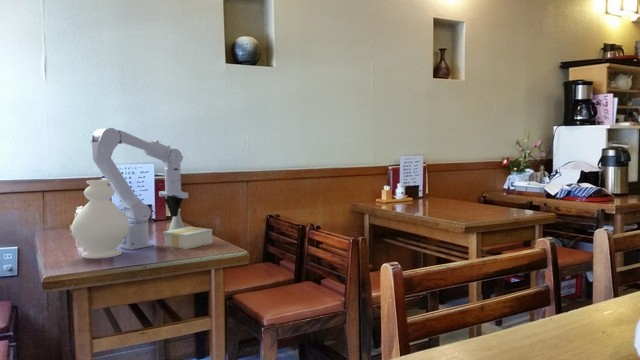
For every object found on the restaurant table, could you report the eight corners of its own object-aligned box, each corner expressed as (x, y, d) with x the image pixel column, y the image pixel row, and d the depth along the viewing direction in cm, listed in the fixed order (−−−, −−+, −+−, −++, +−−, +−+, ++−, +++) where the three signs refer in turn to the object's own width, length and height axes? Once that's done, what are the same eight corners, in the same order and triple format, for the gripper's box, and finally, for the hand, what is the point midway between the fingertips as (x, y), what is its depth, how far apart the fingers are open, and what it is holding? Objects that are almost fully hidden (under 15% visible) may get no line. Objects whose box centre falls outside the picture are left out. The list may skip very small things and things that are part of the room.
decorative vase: (113, 247, 188) (110, 177, 186) (140, 253, 177) (137, 179, 175) (63, 255, 174) (59, 181, 172) (89, 263, 163) (85, 183, 161)
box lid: (185, 236, 181) (185, 234, 181) (162, 233, 189) (162, 231, 188) (212, 231, 192) (212, 229, 192) (189, 228, 199) (189, 226, 199)
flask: (175, 235, 210) (174, 210, 209) (164, 233, 214) (163, 209, 214) (190, 232, 216) (189, 208, 215) (179, 231, 220) (178, 207, 219)
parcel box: (186, 249, 182) (186, 236, 182) (164, 245, 189) (163, 233, 189) (212, 243, 192) (211, 231, 192) (190, 240, 199) (189, 228, 199)
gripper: (194, 180, 195) (195, 216, 196) (168, 179, 204) (170, 213, 205) (179, 181, 190) (180, 218, 191) (153, 180, 198) (155, 215, 199)
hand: (174, 216), depth 197 cm, fingers closed
